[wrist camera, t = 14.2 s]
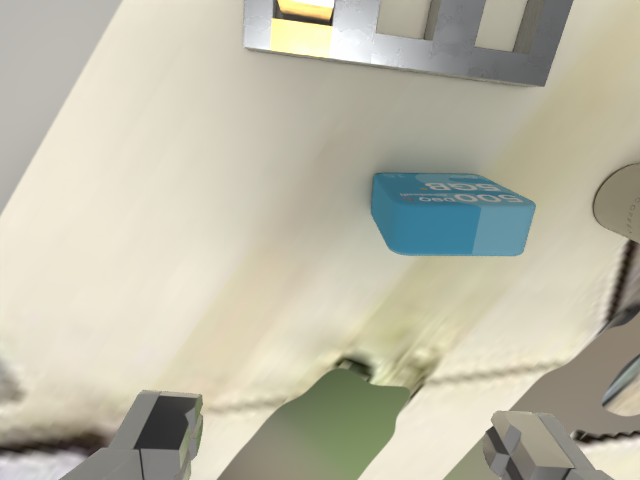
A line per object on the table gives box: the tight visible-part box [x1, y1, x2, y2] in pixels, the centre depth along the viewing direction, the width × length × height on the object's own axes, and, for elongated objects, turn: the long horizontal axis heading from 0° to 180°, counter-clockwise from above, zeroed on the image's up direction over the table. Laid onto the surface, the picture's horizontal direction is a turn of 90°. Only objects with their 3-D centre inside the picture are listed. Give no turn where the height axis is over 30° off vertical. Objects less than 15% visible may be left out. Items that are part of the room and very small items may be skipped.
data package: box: [371, 173, 536, 256], centre depth 34 cm, size 12×4×12 cm, turn 89°
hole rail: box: [243, 0, 573, 87], centre depth 31 cm, size 28×10×3 cm, turn 83°
